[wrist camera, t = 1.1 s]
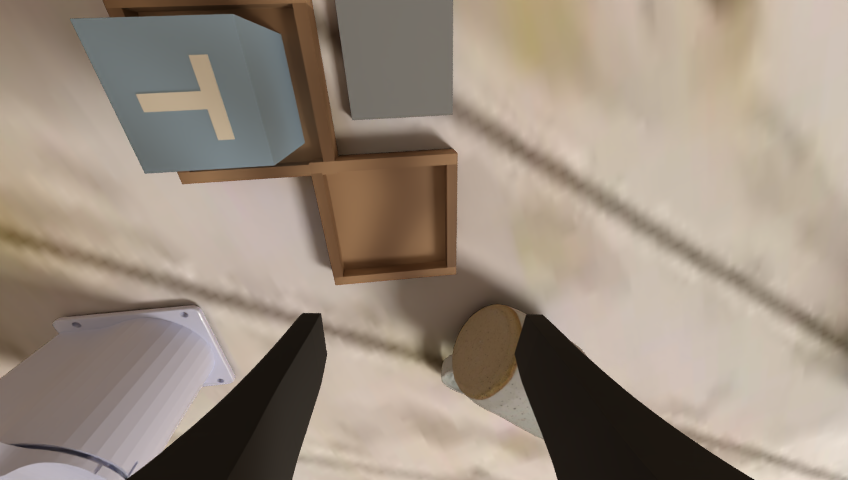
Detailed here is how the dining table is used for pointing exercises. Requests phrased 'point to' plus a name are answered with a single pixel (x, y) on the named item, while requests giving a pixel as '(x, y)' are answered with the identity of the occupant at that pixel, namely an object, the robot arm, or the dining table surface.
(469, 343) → the ceramic mug
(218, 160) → the letter cube
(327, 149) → the tray
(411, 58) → the slate tile
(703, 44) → the dining table surface
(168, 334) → the robot arm
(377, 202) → the tray
